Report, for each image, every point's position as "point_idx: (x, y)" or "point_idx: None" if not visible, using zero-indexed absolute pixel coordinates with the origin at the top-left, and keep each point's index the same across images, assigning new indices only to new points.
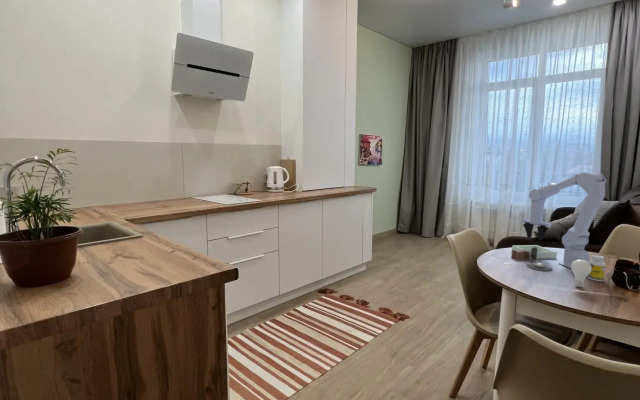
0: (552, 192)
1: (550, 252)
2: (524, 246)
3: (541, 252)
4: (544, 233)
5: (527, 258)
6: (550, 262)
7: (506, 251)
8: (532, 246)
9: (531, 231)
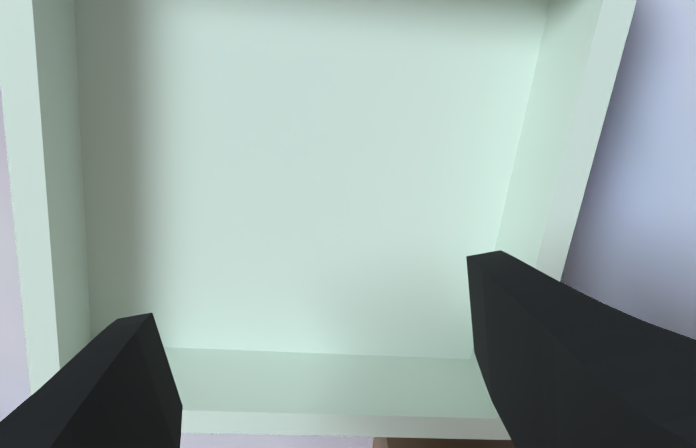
0: None
1: (606, 95)
2: (54, 210)
3: (559, 272)
4: (647, 338)
5: None
6: (675, 209)
7: (26, 398)
8: (41, 13)
9: (88, 440)
